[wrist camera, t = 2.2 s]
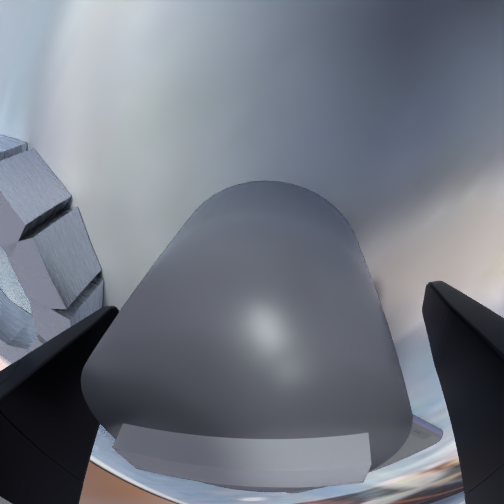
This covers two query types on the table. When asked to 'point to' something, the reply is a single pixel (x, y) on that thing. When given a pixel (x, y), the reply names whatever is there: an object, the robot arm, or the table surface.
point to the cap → (254, 351)
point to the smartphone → (413, 442)
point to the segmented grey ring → (42, 253)
